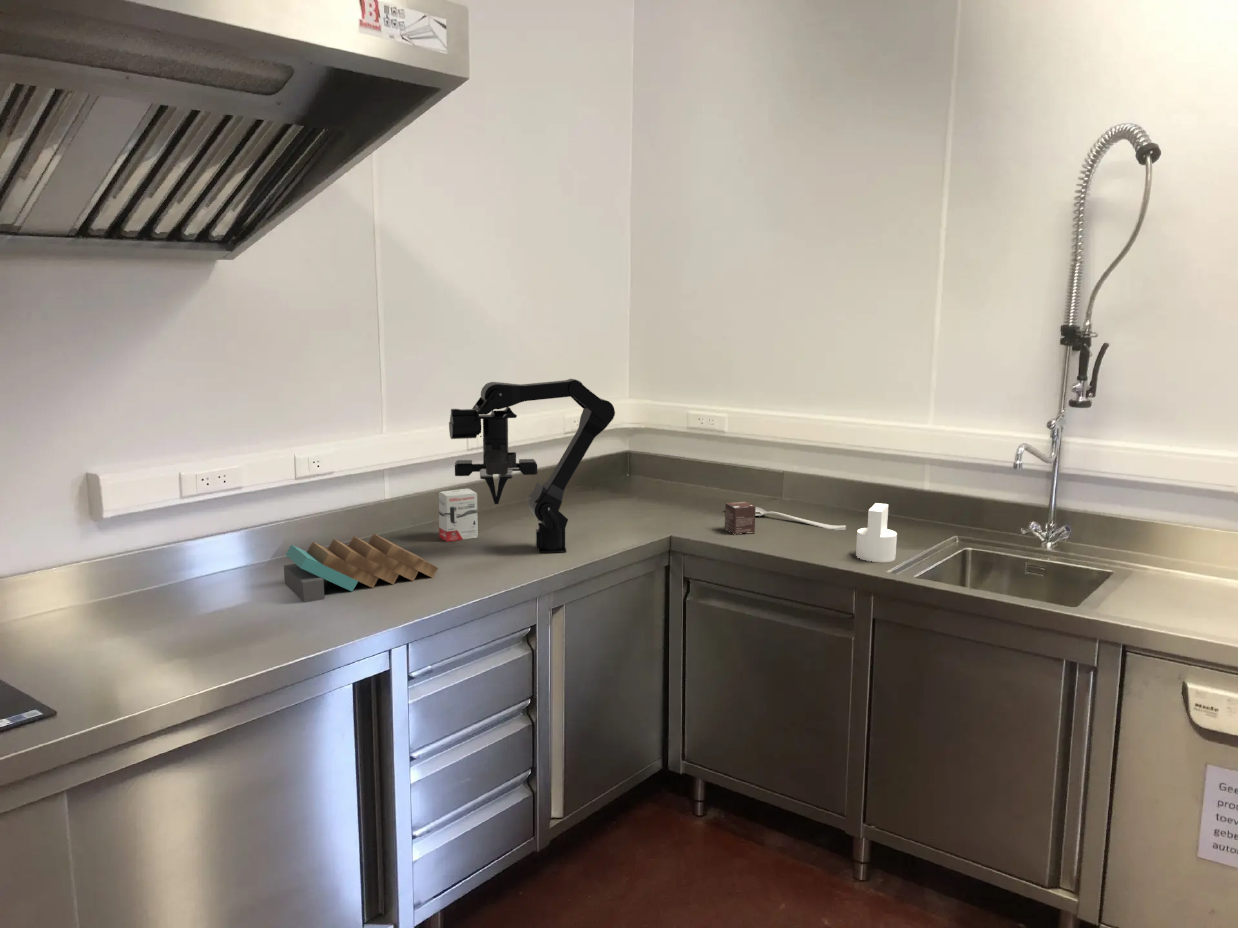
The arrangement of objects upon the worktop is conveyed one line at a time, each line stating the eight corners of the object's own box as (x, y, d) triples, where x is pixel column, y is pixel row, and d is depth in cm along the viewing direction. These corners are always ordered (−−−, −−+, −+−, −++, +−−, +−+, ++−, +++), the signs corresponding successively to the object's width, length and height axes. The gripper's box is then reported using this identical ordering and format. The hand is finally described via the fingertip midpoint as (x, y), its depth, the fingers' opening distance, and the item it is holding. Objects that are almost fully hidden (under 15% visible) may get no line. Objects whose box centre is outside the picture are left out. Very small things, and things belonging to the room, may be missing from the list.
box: (745, 528, 240) (746, 501, 238) (755, 533, 234) (756, 506, 233) (724, 529, 238) (724, 502, 236) (733, 535, 232) (734, 507, 231)
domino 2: (361, 564, 196) (312, 541, 189) (378, 577, 187) (328, 553, 180) (355, 574, 196) (306, 551, 189) (373, 588, 187) (322, 564, 180)
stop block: (304, 580, 191) (303, 562, 190) (324, 598, 180) (323, 579, 179) (284, 583, 189) (283, 565, 188) (303, 602, 177) (302, 582, 177)
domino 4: (399, 558, 201) (353, 536, 194) (418, 571, 192) (371, 547, 185) (394, 568, 201) (348, 545, 194) (413, 581, 192) (365, 558, 185)
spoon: (721, 514, 256) (721, 505, 255) (735, 508, 262) (735, 499, 261) (839, 539, 236) (839, 529, 235) (850, 532, 242) (851, 522, 241)
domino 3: (380, 561, 198) (333, 538, 192) (399, 574, 190) (350, 550, 183) (375, 571, 198) (327, 548, 191) (393, 584, 189) (344, 561, 182)
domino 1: (341, 567, 194) (291, 544, 187) (358, 581, 185) (306, 557, 178) (335, 577, 193) (285, 554, 186) (352, 591, 184) (300, 567, 178)
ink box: (446, 542, 222) (445, 495, 220) (438, 537, 227) (437, 491, 224) (478, 537, 227) (477, 491, 225) (470, 533, 231) (469, 488, 229)
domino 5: (418, 556, 203) (373, 533, 197) (438, 568, 194) (392, 544, 188) (413, 565, 203) (368, 543, 196) (432, 577, 194) (386, 555, 187)
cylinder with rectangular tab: (860, 549, 220) (863, 501, 217) (898, 554, 216) (901, 505, 214) (852, 559, 212) (855, 509, 210) (891, 564, 208) (895, 513, 206)
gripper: (453, 443, 198) (455, 512, 201) (539, 442, 202) (539, 510, 204) (454, 436, 209) (455, 502, 212) (535, 435, 212) (535, 500, 215)
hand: (496, 503), depth 211 cm, fingers closed
